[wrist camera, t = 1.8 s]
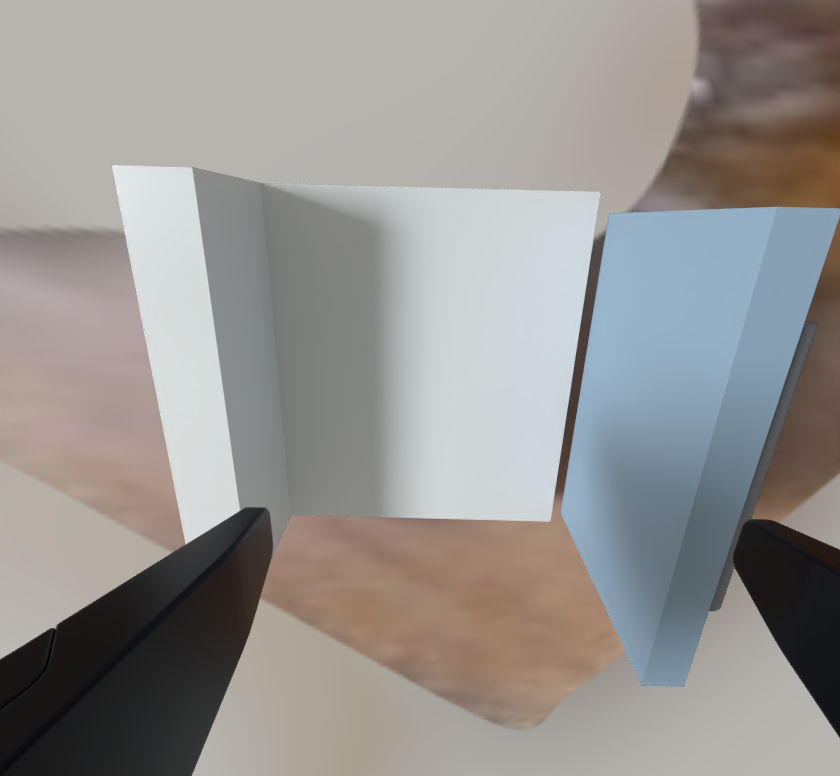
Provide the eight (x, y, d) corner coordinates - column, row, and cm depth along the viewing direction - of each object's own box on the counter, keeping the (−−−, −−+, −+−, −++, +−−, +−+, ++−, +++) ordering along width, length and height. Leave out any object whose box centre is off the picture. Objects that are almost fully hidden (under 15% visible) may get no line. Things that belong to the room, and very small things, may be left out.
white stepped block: (574, 196, 19) (675, 179, 11) (535, 485, 24) (587, 609, 16) (237, 187, 19) (111, 164, 11) (269, 478, 23) (196, 599, 16)
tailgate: (671, 214, 16) (896, 209, 8) (609, 514, 20) (718, 687, 13) (609, 213, 16) (777, 206, 8) (560, 512, 20) (641, 685, 13)
